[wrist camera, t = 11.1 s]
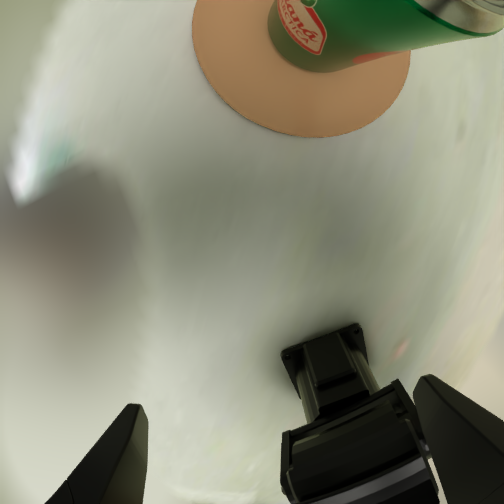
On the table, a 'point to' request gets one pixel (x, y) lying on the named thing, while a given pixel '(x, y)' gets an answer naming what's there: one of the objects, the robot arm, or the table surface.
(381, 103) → the terracotta plate
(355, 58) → the soda can
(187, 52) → the table surface
